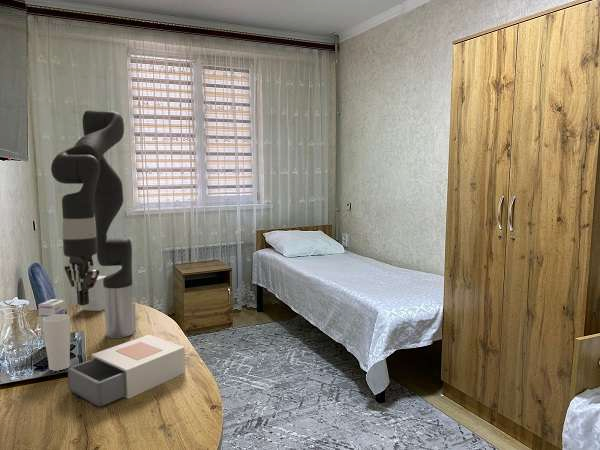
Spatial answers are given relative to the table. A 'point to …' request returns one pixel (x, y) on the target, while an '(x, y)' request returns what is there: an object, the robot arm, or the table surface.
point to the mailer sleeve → (145, 362)
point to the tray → (97, 382)
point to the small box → (96, 296)
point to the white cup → (57, 341)
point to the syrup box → (51, 311)
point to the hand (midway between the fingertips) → (83, 304)
